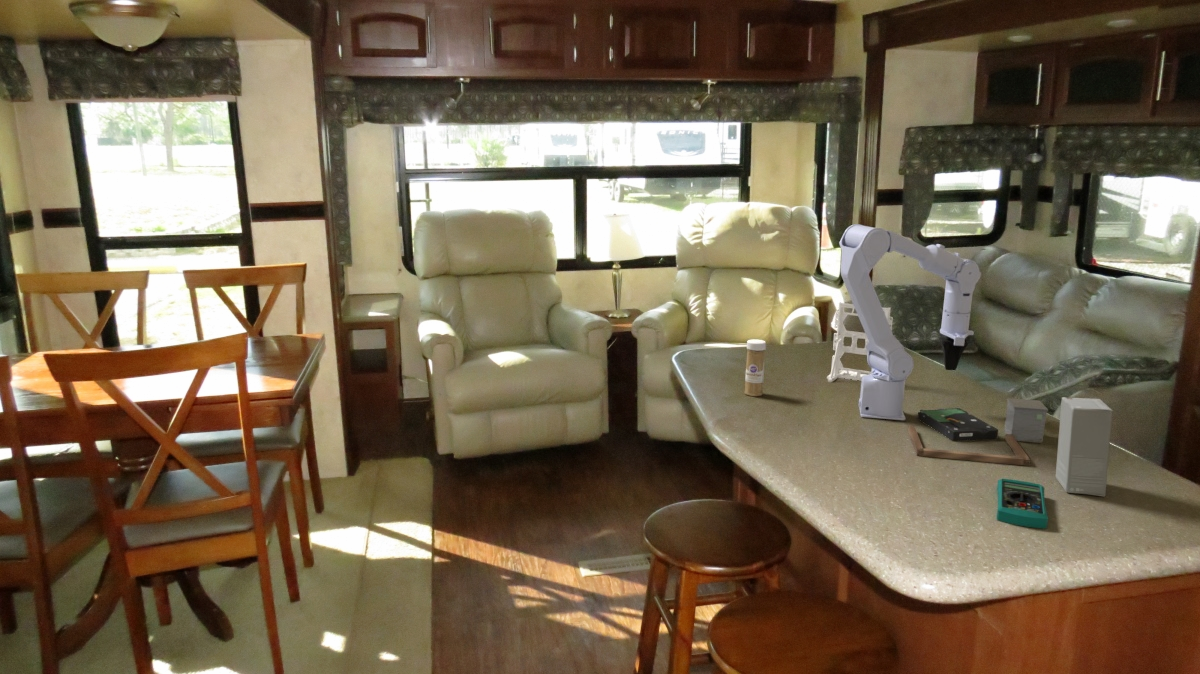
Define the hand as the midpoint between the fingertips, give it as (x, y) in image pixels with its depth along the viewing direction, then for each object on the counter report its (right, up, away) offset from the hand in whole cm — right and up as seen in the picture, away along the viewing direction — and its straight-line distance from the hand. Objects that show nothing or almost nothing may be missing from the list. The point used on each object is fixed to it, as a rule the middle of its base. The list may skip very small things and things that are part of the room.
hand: (950, 369), depth 188 cm
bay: (-6, -15, -21) cm, 27 cm away
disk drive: (-3, -13, -10) cm, 17 cm away
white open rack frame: (-12, -4, +27) cm, 30 cm away
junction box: (+9, -14, -15) cm, 22 cm away
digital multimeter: (-9, -22, -49) cm, 55 cm away
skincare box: (+6, -20, -40) cm, 45 cm away
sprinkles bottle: (-43, -7, +13) cm, 45 cm away
